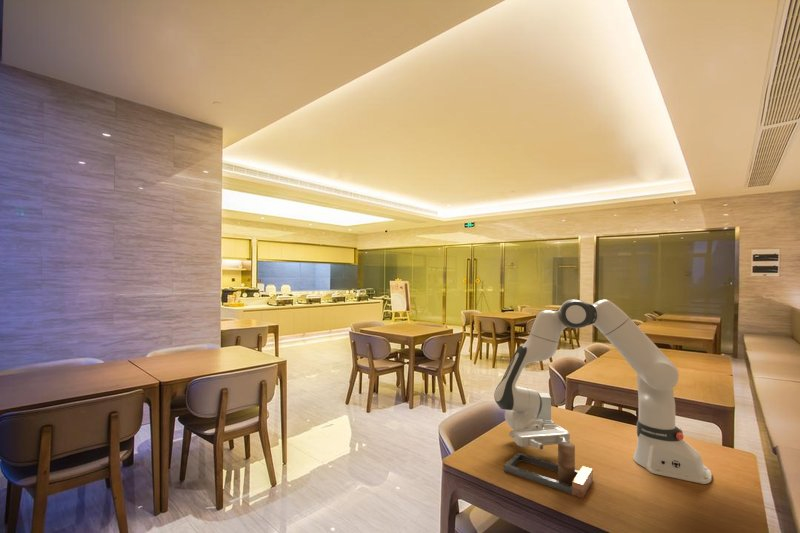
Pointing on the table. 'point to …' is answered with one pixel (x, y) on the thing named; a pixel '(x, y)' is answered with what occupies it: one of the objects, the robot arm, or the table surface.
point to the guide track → (577, 487)
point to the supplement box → (545, 407)
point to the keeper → (566, 462)
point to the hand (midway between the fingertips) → (553, 446)
